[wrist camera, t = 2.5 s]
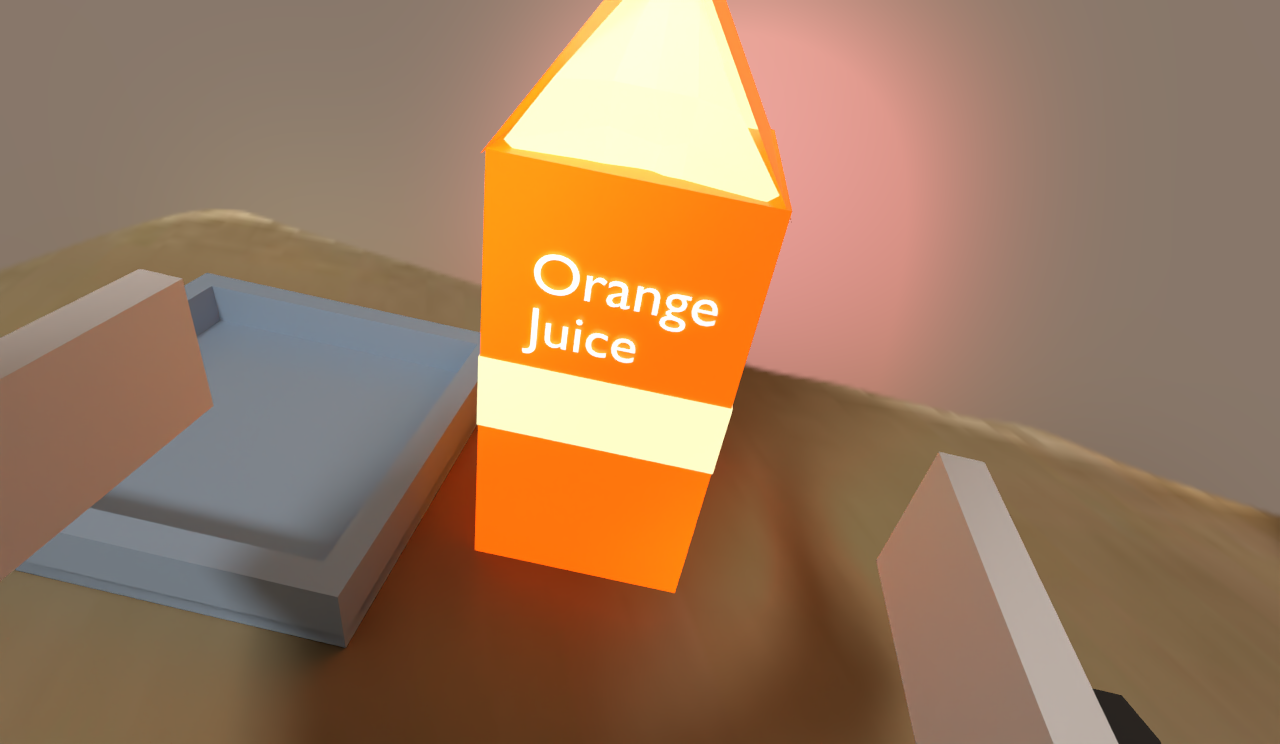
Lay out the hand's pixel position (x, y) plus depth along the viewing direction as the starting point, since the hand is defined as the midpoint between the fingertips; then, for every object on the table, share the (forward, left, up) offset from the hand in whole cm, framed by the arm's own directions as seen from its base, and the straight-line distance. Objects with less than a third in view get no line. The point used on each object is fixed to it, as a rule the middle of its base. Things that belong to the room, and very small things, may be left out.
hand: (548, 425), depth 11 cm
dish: (+13, -9, -12) cm, 20 cm away
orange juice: (0, -11, -12) cm, 16 cm away
